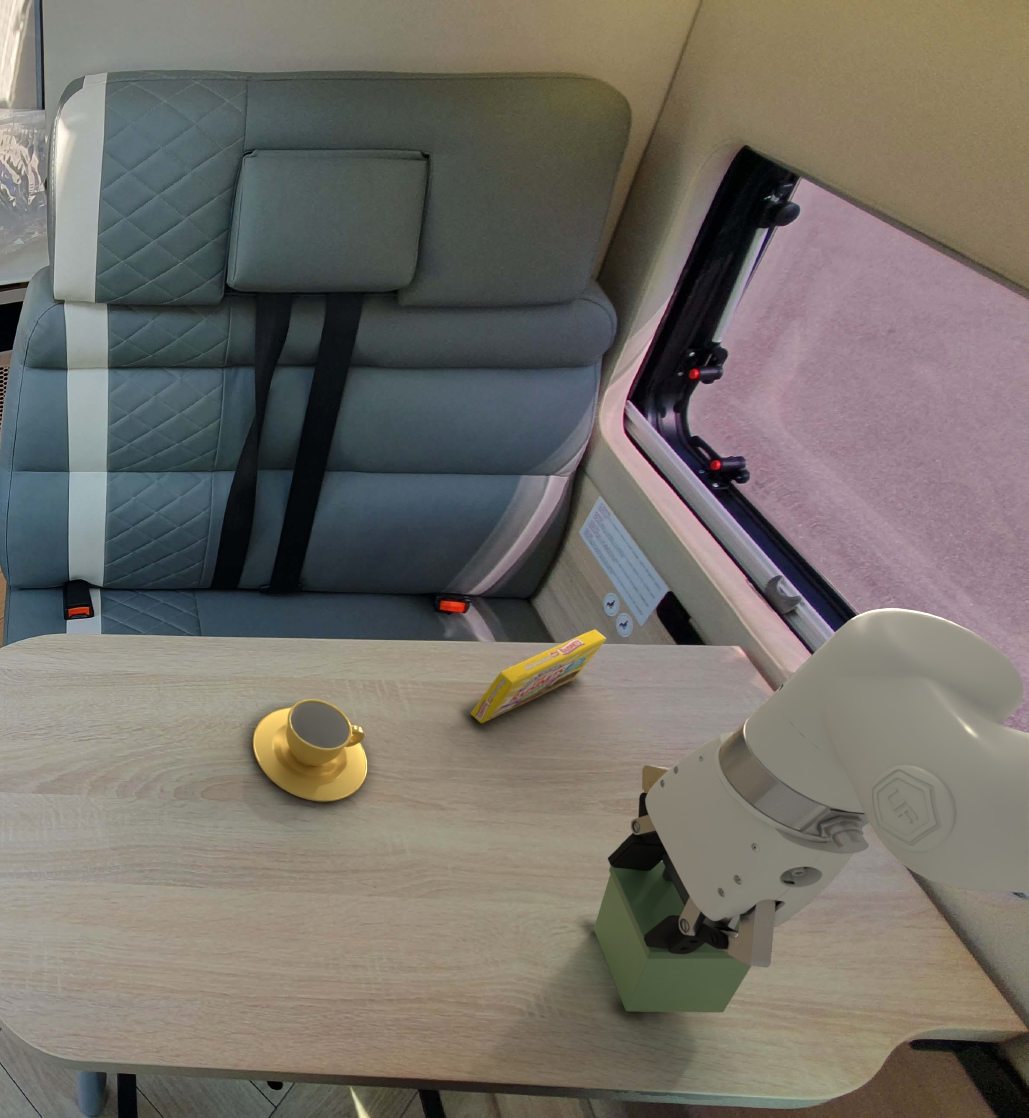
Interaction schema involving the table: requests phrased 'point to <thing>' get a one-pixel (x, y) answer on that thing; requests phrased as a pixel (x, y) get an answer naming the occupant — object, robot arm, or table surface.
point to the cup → (311, 751)
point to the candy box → (537, 675)
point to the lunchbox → (655, 972)
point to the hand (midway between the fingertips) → (646, 902)
